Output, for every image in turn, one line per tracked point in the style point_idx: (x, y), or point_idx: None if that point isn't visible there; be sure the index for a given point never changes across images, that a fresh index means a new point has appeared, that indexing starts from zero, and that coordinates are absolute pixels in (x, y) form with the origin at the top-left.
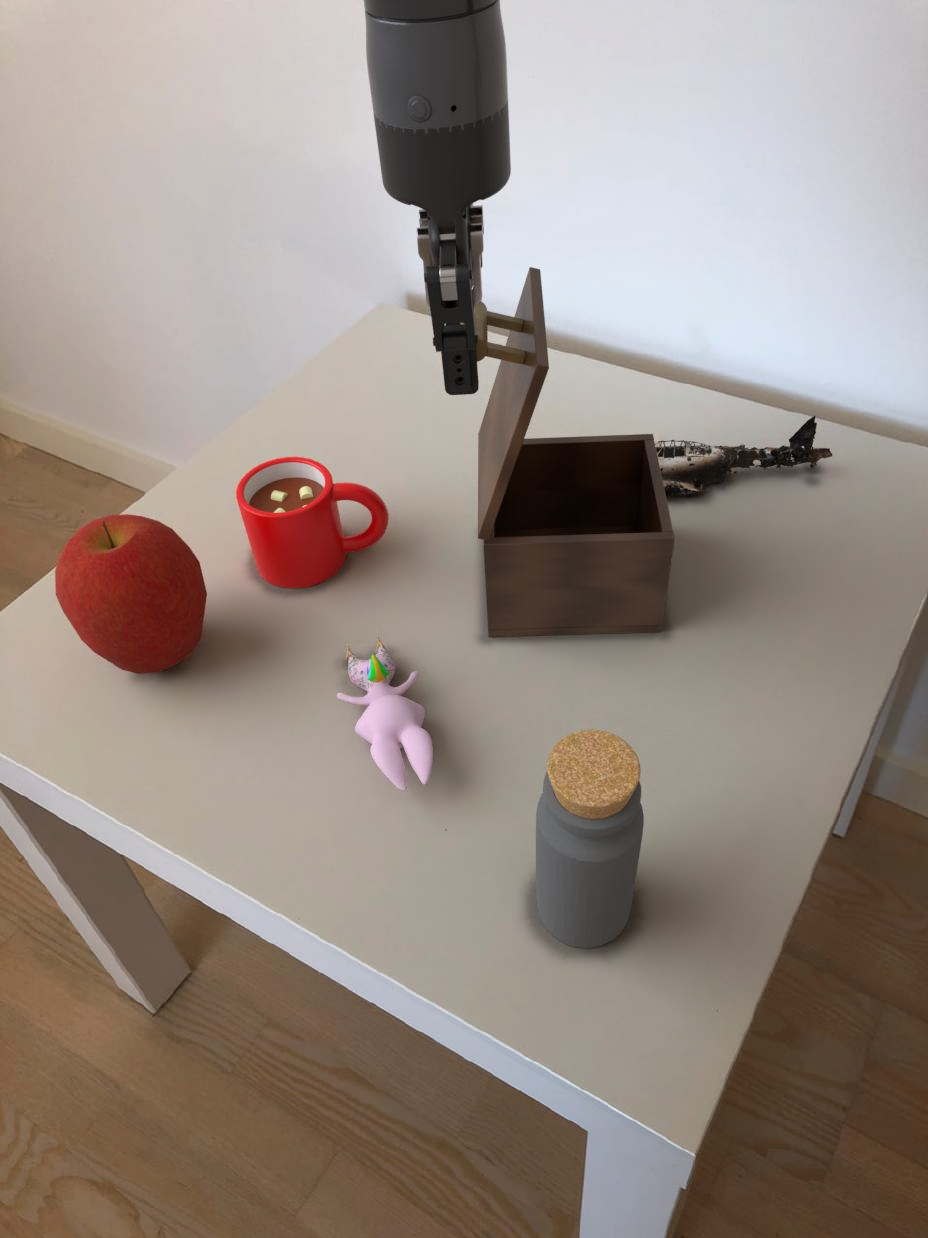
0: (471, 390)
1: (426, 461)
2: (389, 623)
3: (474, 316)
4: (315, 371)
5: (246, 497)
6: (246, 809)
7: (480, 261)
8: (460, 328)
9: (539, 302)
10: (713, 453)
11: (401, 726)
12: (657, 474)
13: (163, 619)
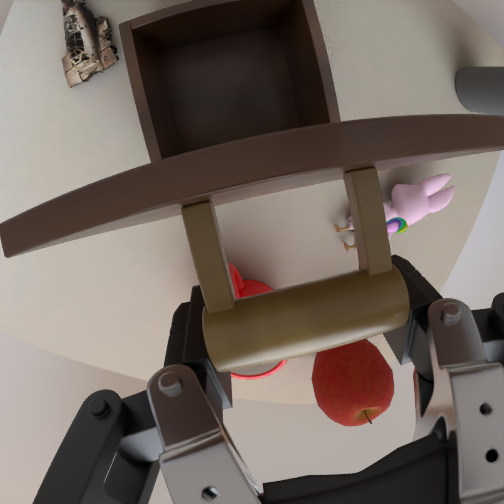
0: (395, 255)
1: (112, 255)
2: (305, 228)
3: (482, 345)
4: (60, 352)
5: (257, 368)
6: (432, 262)
7: (473, 474)
8: (495, 349)
9: (200, 165)
10: (74, 13)
11: (426, 197)
12: (197, 2)
13: (384, 359)
